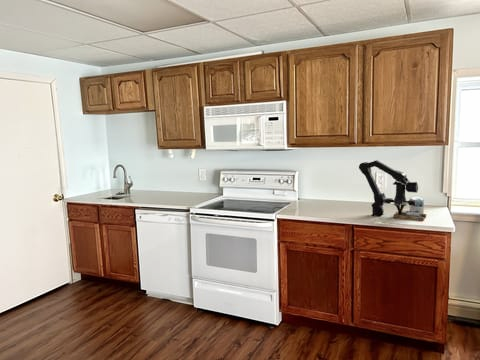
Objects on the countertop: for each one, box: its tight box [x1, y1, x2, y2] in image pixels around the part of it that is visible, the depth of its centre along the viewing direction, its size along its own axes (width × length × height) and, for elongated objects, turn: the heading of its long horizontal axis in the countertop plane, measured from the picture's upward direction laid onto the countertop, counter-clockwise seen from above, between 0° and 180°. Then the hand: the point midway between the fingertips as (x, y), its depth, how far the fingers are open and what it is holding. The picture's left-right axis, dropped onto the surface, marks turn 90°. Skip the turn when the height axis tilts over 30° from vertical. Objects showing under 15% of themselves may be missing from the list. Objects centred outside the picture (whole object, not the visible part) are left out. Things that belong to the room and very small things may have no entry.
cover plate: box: [406, 211, 422, 217], centre depth 239 cm, size 8×8×3 cm
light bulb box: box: [409, 196, 425, 214], centre depth 255 cm, size 11×7×11 cm, turn 170°
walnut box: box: [392, 210, 427, 222], centre depth 241 cm, size 18×12×3 cm, turn 55°
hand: (400, 214), depth 244 cm, fingers closed
